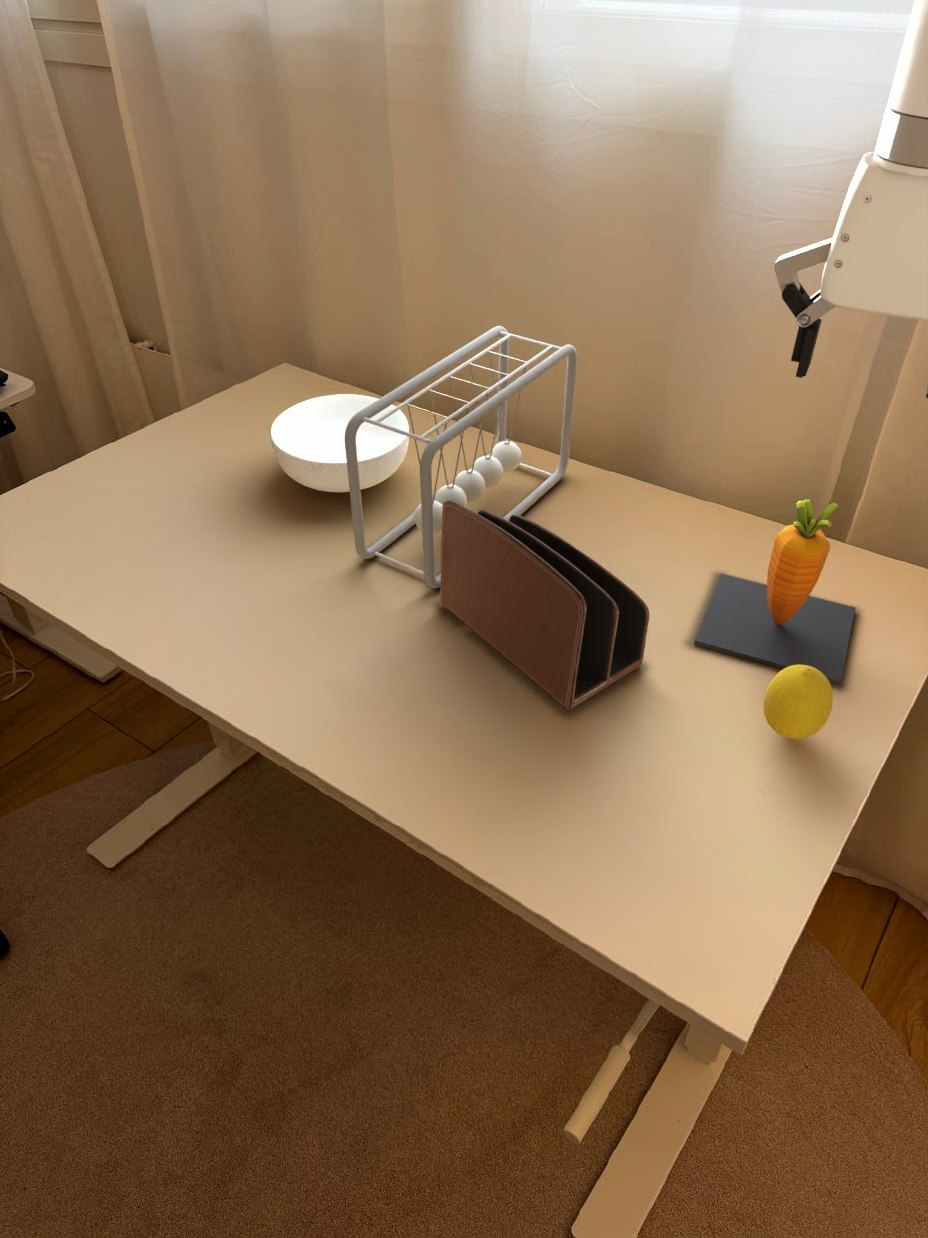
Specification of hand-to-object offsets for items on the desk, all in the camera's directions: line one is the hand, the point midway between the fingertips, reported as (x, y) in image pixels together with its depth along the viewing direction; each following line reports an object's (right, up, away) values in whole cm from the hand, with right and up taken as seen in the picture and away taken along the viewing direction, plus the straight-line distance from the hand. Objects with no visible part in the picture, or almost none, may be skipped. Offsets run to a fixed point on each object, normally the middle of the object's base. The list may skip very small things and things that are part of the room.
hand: (865, 381), depth 70 cm
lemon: (-3, -29, +10) cm, 31 cm away
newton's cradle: (-31, -7, +36) cm, 48 cm away
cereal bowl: (-47, -1, +43) cm, 64 cm away
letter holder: (-24, -21, +20) cm, 38 cm away
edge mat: (0, -20, +21) cm, 29 cm away
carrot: (0, -19, +21) cm, 28 cm away
